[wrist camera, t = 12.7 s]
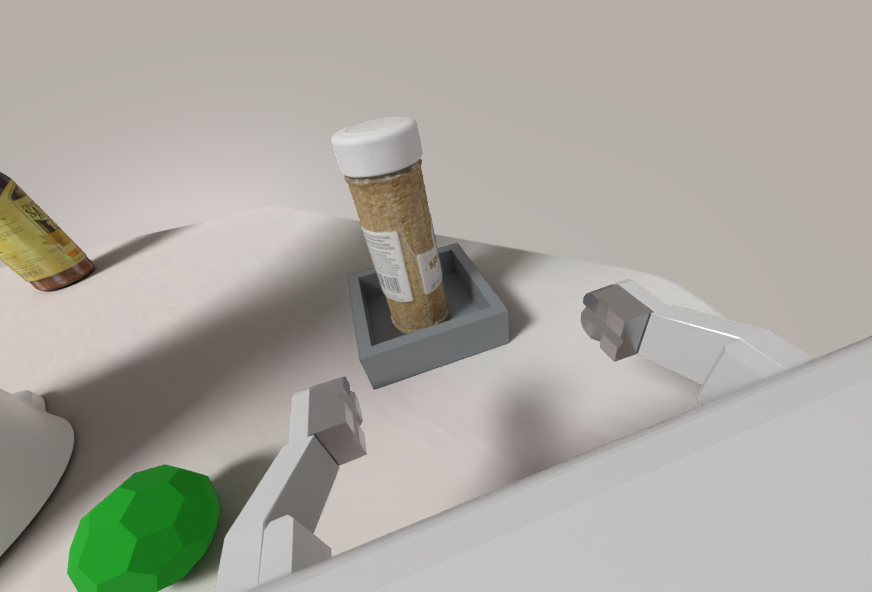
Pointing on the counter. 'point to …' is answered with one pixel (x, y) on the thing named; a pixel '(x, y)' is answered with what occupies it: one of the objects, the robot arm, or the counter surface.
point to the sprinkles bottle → (395, 216)
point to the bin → (434, 346)
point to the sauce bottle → (36, 242)
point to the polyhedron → (145, 532)
